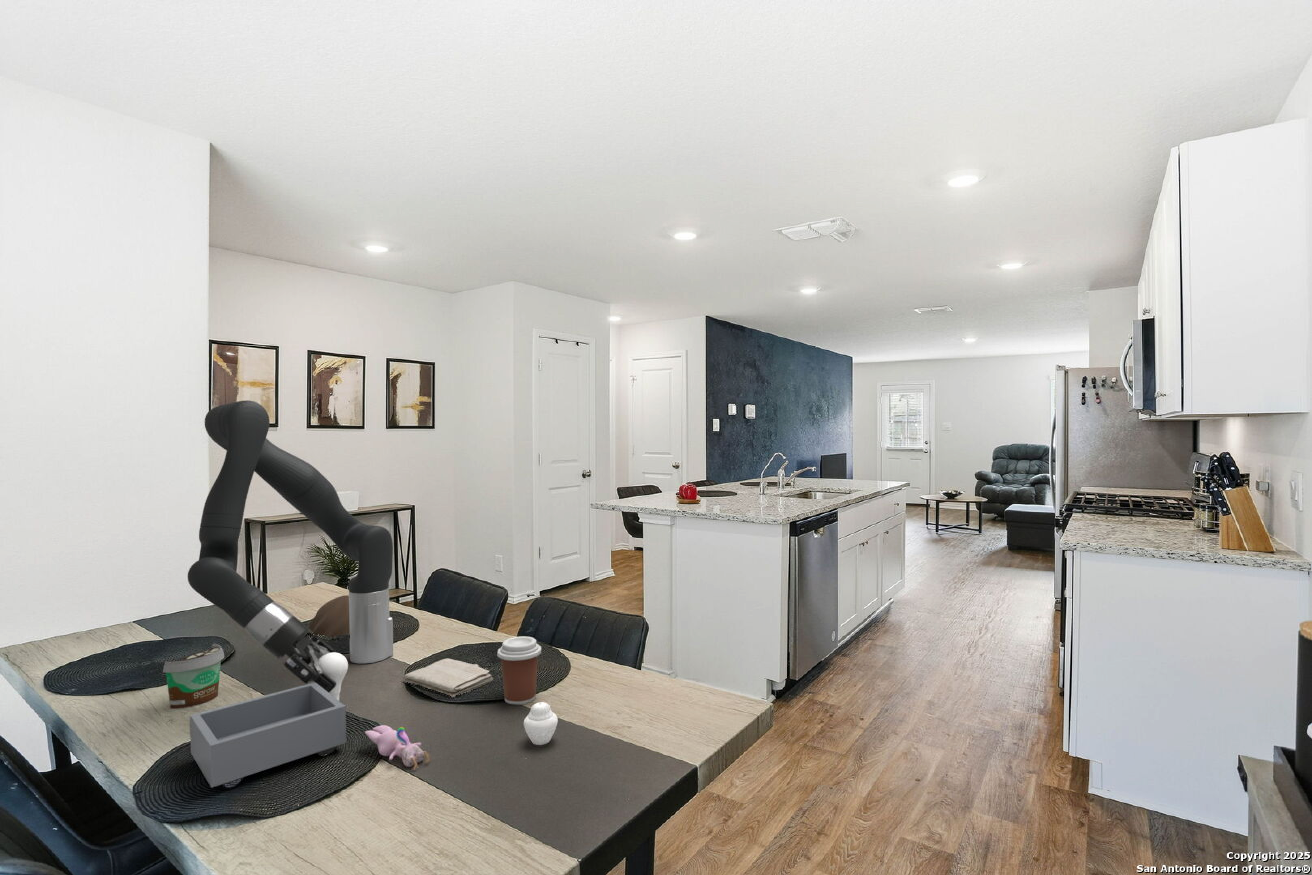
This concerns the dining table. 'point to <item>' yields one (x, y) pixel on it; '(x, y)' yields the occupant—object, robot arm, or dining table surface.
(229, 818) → the dining table surface
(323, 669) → the lightbulb
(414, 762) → the pink toy animal
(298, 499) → the robot arm
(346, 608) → the decorative dome
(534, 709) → the white lidded jar
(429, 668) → the washcloth
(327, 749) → the grey open box
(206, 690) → the food container
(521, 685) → the coffee cup
